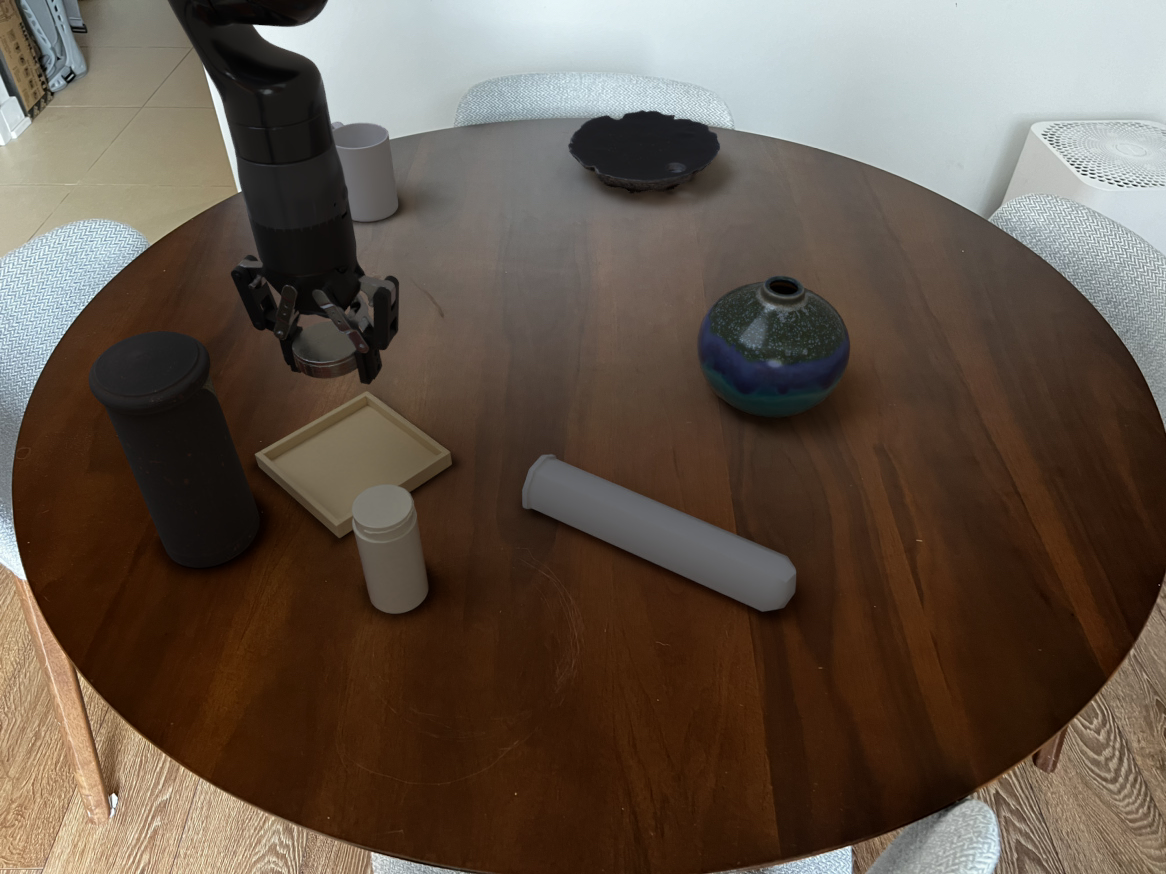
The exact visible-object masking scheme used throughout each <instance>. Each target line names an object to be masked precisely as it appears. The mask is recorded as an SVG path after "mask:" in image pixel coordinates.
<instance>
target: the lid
mask: <svg viewBox="0 0 1166 874" xmlns="http://www.w3.org/2000/svg"><path fill="white" fill-rule="evenodd" d="M292 349H293V350H292V352H293V356H294V360H295V364H296V367H298V369H299V370H300V372H301V373H302V374H304V375H305V376H308V377H310V378H314V379H321V380H327V379H329V380H330V379H336V378H341V377H344V376H347V375H349V374H351V373H353V372H355V371H356V370H358V368H357V363H356V358H355V353H354V352H355V350H356V348H355V346H354V345H353V344H352V342H351V341H350V339H349V338H348V336H347V335H346V334H345V333H340V332H339V330H338V329H337V328H336V326H335V325H334V323H333V322H332V320H330V321H329V320H328V321H322V322H318V323H314V324H312V325H309V326H307V327H305V328H303V330H302V331H301V332H300V333H299V334H298V335H297V336H296V337H295V339H294V340H293V343H292Z"/></svg>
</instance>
